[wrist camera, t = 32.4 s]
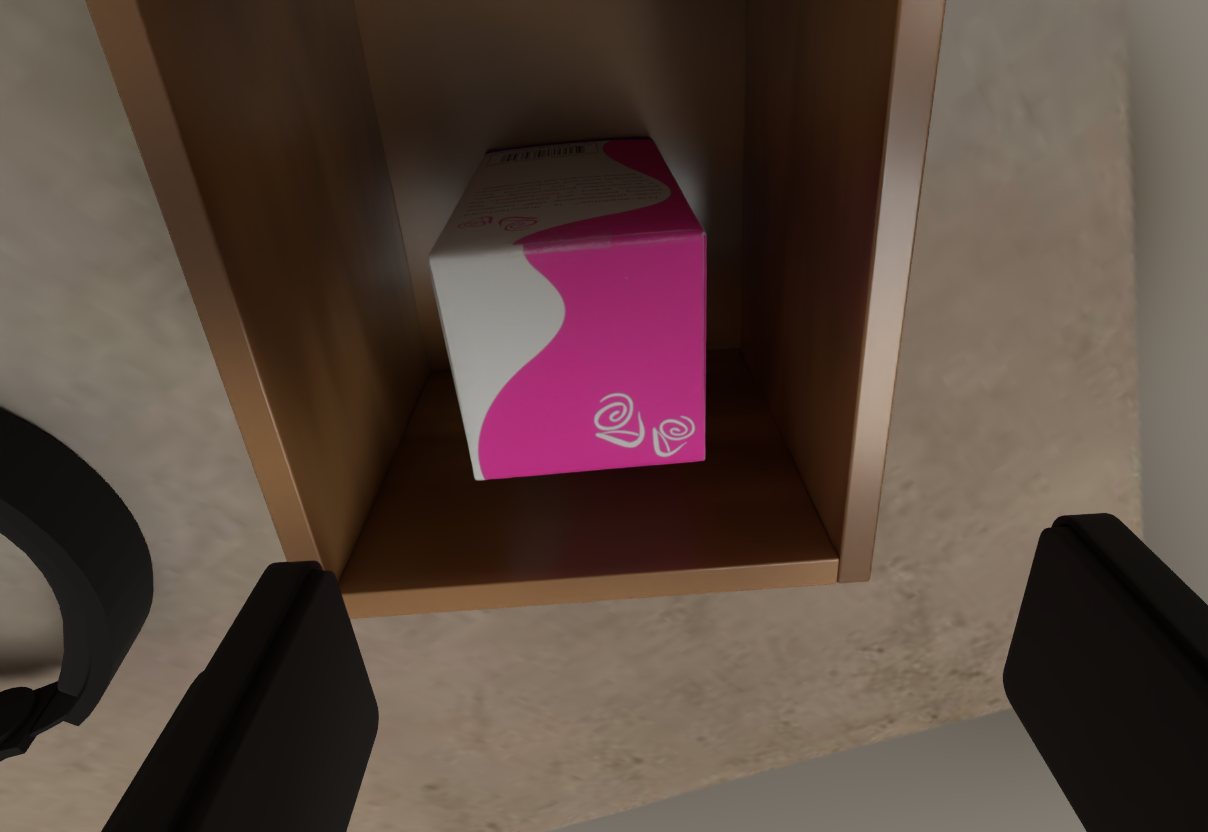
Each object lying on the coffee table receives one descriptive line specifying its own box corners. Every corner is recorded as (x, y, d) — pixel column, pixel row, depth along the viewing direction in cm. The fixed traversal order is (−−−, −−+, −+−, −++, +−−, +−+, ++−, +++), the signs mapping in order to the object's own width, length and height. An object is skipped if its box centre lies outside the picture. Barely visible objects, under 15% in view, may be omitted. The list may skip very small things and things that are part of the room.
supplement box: (508, 314, 27) (464, 488, 17) (483, 147, 24) (414, 238, 14) (663, 301, 27) (711, 469, 17) (657, 132, 24) (709, 214, 14)
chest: (756, 356, 29) (870, 582, 18) (417, 382, 29) (307, 622, 18) (768, -83, 22) (974, -195, 11) (324, -46, 22) (42, -113, 11)
